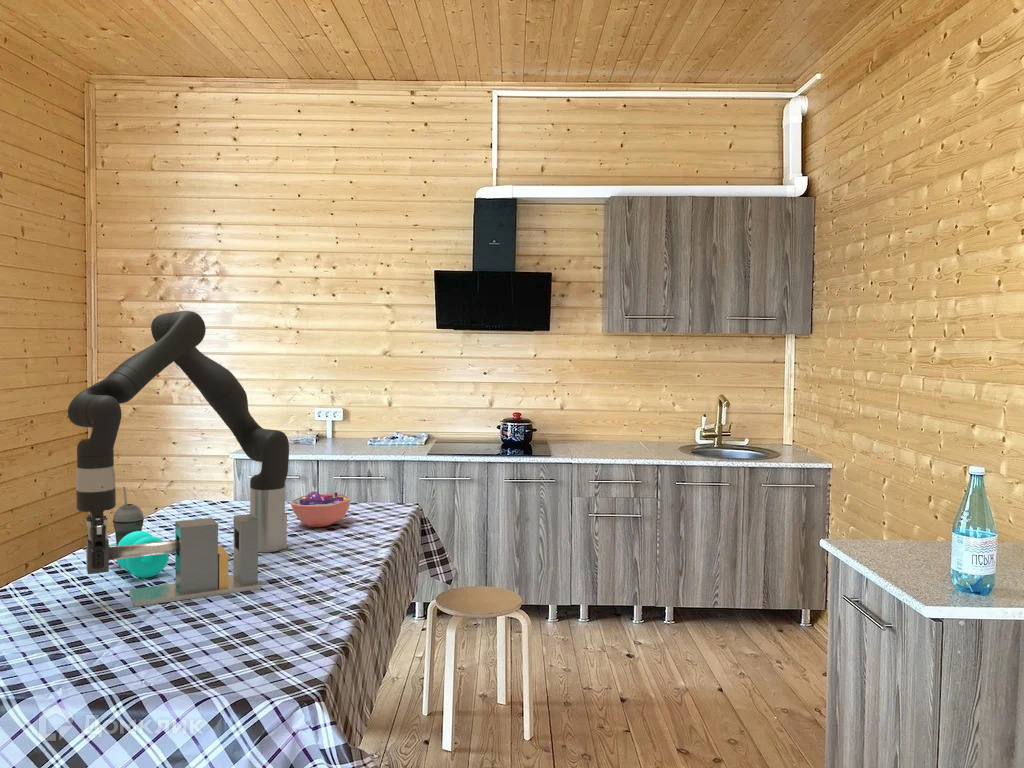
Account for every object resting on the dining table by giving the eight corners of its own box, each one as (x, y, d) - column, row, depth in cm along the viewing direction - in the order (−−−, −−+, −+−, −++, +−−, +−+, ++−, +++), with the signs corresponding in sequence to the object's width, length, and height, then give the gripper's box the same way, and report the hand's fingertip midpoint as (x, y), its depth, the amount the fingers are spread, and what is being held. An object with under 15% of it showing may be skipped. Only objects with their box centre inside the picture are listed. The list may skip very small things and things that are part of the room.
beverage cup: (131, 569, 200) (131, 490, 198) (106, 567, 201) (105, 488, 200) (150, 561, 207) (150, 485, 206) (125, 559, 208) (125, 483, 207)
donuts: (155, 565, 203) (155, 527, 203) (171, 574, 196) (170, 534, 196) (113, 573, 196) (113, 533, 196) (128, 582, 189) (128, 541, 189)
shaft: (209, 555, 187) (209, 525, 187) (213, 559, 184) (213, 529, 183) (86, 569, 174) (86, 537, 173) (87, 574, 170) (87, 542, 170)
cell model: (363, 523, 255) (363, 488, 254) (316, 535, 238) (317, 498, 237) (325, 516, 264) (325, 482, 263) (277, 527, 247) (278, 491, 246)
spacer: (220, 578, 191) (220, 545, 190) (228, 587, 184) (228, 553, 184) (212, 579, 190) (212, 546, 189) (219, 589, 183) (219, 554, 182)
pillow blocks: (251, 577, 196) (251, 512, 195) (261, 588, 187) (261, 521, 186) (129, 593, 181) (129, 524, 180) (134, 606, 173) (134, 533, 172)
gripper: (118, 491, 168) (120, 571, 169) (112, 480, 180) (113, 555, 181) (78, 494, 164) (79, 576, 165) (74, 483, 176) (75, 559, 177)
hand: (97, 565), depth 173 cm, fingers closed on shaft, 4 cm apart
